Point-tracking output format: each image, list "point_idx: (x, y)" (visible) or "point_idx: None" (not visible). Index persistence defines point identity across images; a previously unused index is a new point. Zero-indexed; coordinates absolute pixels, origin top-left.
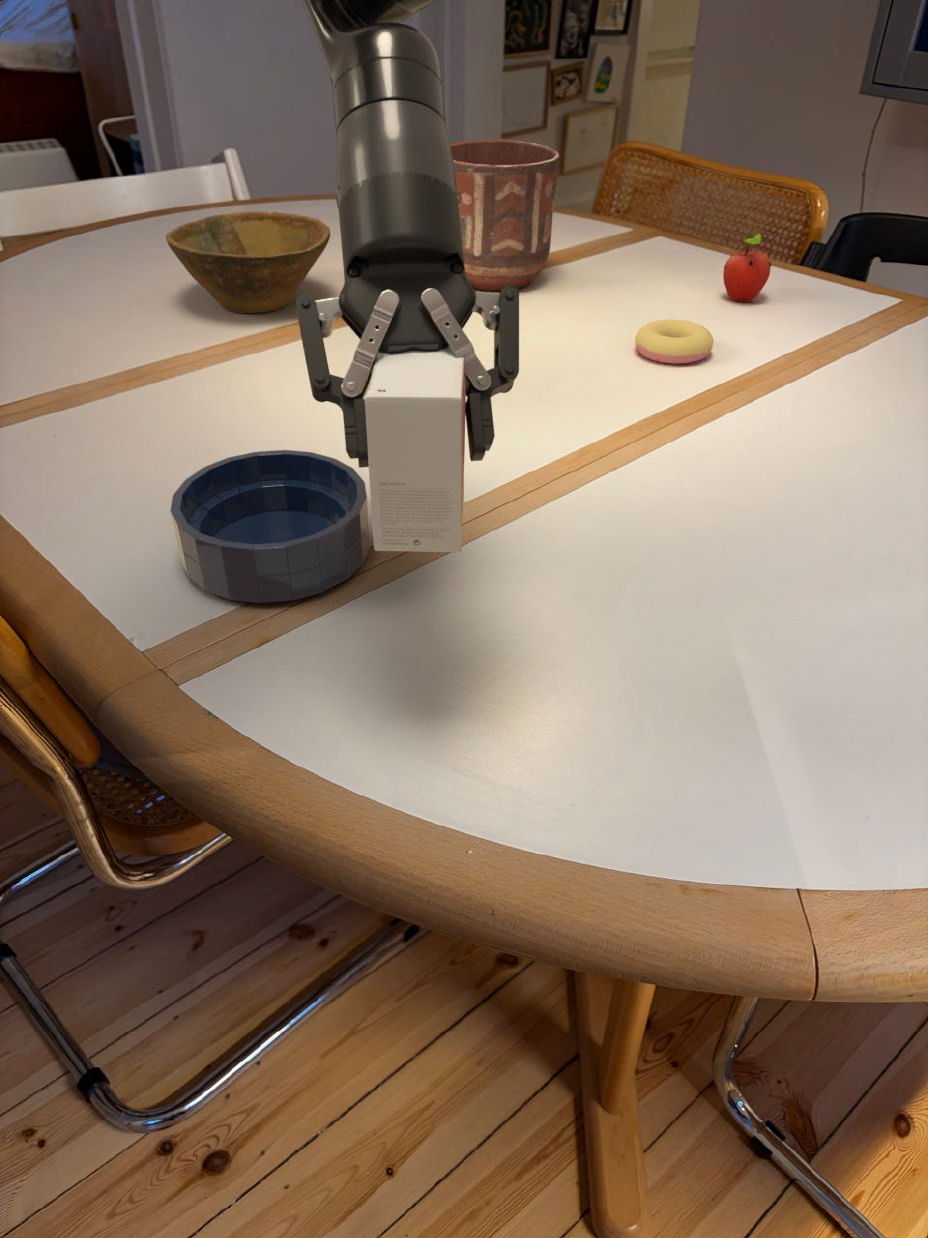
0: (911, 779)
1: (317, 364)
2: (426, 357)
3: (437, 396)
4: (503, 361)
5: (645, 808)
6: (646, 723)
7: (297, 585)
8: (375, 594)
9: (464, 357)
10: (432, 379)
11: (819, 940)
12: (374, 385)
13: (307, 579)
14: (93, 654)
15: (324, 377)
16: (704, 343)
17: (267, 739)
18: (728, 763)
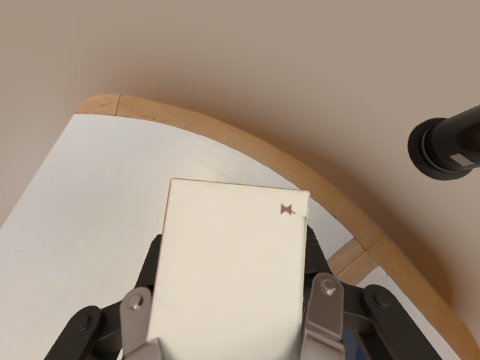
0: (47, 160)
1: (399, 327)
2: (211, 341)
3: (205, 183)
4: (82, 338)
5: (156, 153)
6: (142, 198)
7: None
8: None
9: (145, 343)
10: (207, 243)
11: (117, 97)
12: (298, 233)
13: (303, 312)
14: (402, 264)
15: (375, 299)
16: None
17: None
18: (116, 173)
